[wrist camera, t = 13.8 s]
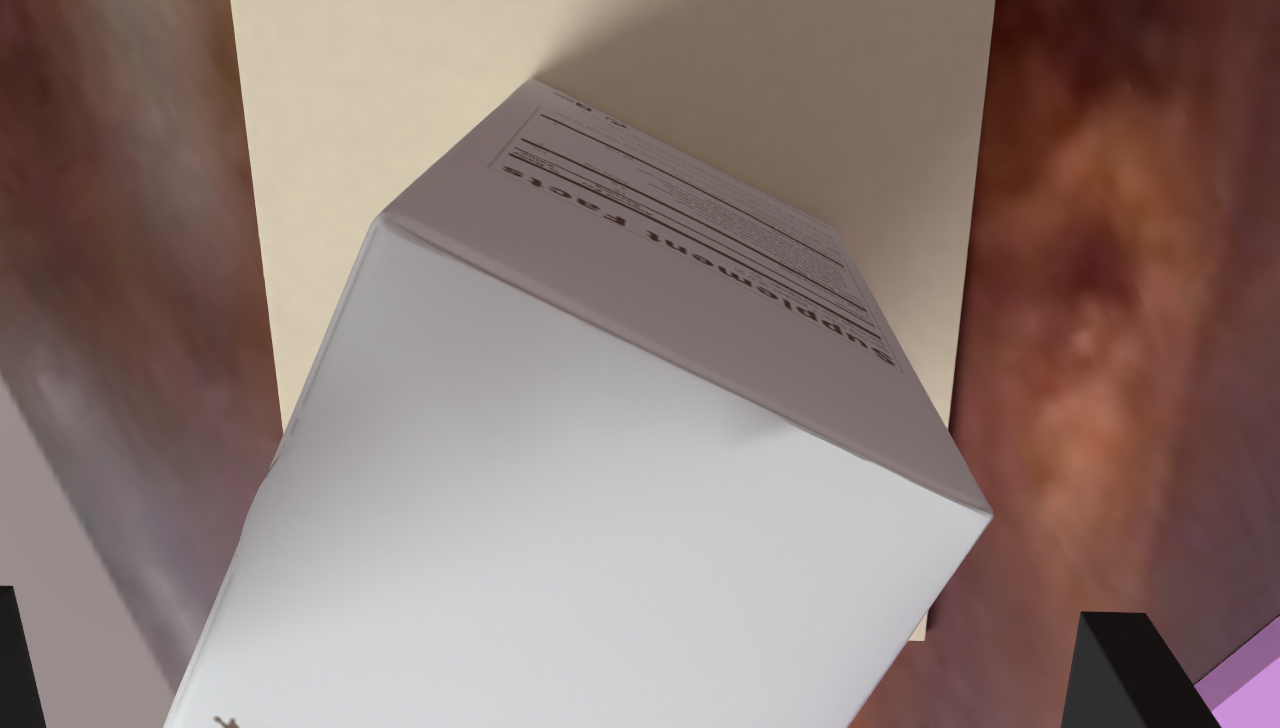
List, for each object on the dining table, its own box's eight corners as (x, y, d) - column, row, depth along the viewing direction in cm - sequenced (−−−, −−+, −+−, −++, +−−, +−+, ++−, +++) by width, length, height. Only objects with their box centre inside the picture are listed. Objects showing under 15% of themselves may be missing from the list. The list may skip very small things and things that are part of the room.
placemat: (1005, -113, 25) (1008, -113, 25) (923, 635, 33) (924, 641, 32) (221, -113, 26) (216, -114, 26) (310, 621, 33) (306, 627, 33)
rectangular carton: (686, 514, 31) (689, 988, 17) (387, 375, 30) (129, 763, 16) (853, 229, 28) (1023, 524, 14) (529, 63, 27) (362, 203, 13)
